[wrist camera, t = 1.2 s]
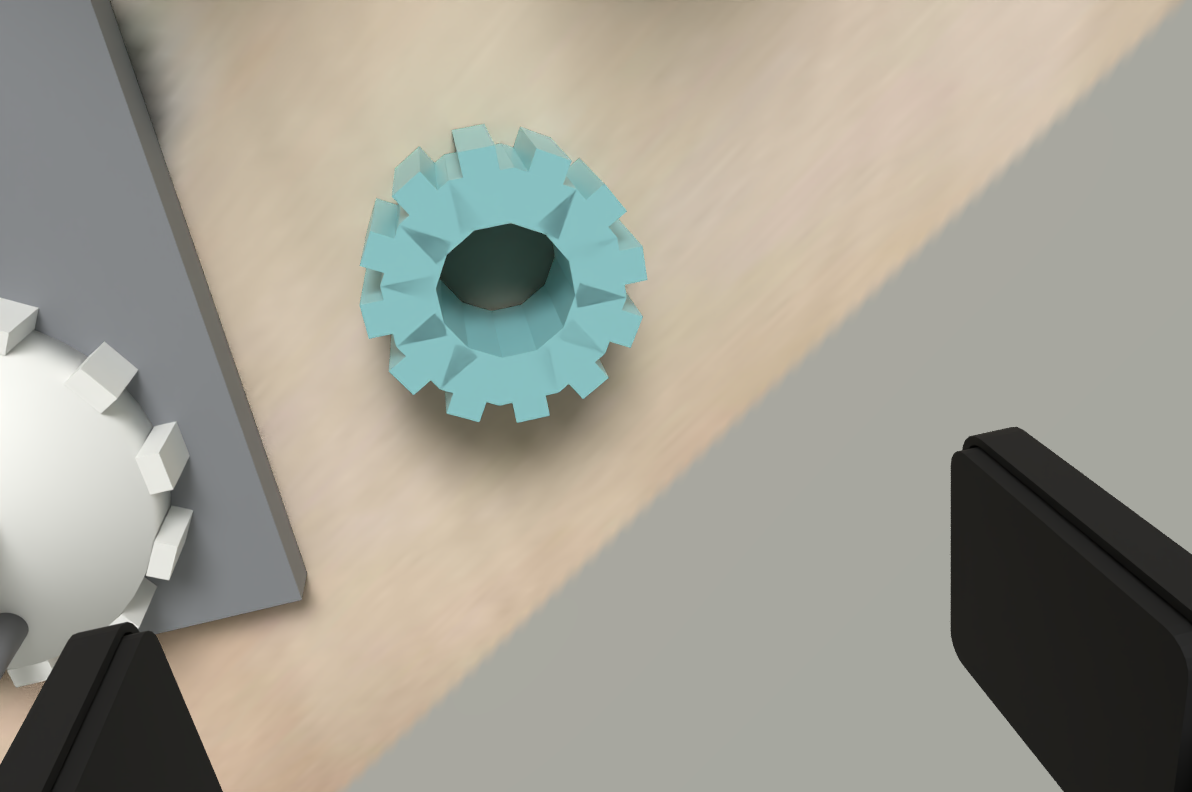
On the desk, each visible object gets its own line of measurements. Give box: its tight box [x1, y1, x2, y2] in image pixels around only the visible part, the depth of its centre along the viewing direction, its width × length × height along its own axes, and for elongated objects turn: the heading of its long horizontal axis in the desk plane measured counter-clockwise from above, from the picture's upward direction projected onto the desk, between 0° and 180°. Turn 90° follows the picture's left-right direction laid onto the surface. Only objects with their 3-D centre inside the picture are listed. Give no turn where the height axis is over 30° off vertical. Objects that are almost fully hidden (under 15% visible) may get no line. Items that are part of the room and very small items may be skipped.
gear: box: [360, 124, 647, 423], centre depth 26 cm, size 7×7×4 cm
